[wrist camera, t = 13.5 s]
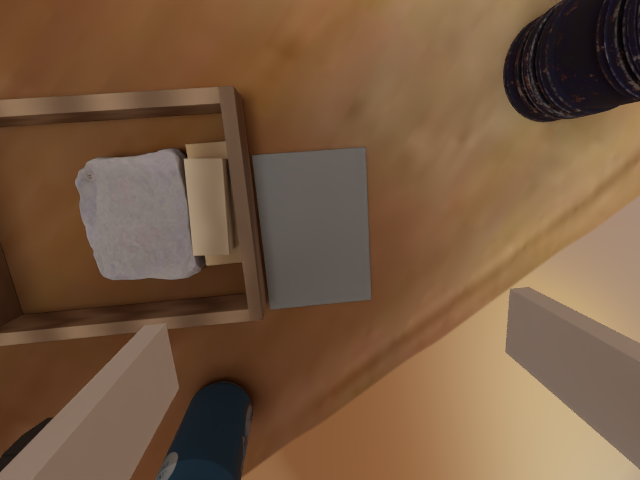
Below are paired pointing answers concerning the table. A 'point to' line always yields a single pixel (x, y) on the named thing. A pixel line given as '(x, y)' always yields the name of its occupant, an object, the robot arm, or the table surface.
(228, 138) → the wooden tray
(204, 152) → the block
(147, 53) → the table surface
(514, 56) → the storage jar
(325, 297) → the mat
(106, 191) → the stone block
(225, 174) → the offcut short
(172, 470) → the soda can
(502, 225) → the table surface
